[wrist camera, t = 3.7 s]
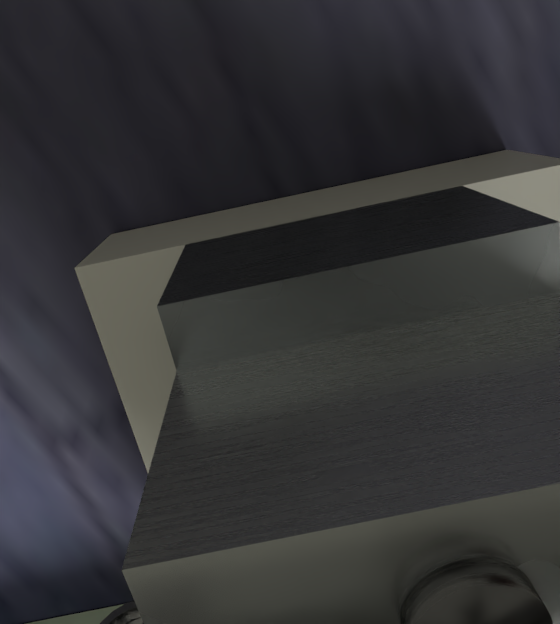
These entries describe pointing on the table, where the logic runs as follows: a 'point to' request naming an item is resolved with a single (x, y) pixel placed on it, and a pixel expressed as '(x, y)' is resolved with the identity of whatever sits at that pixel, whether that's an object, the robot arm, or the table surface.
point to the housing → (360, 422)
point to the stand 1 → (81, 617)
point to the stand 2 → (176, 234)
